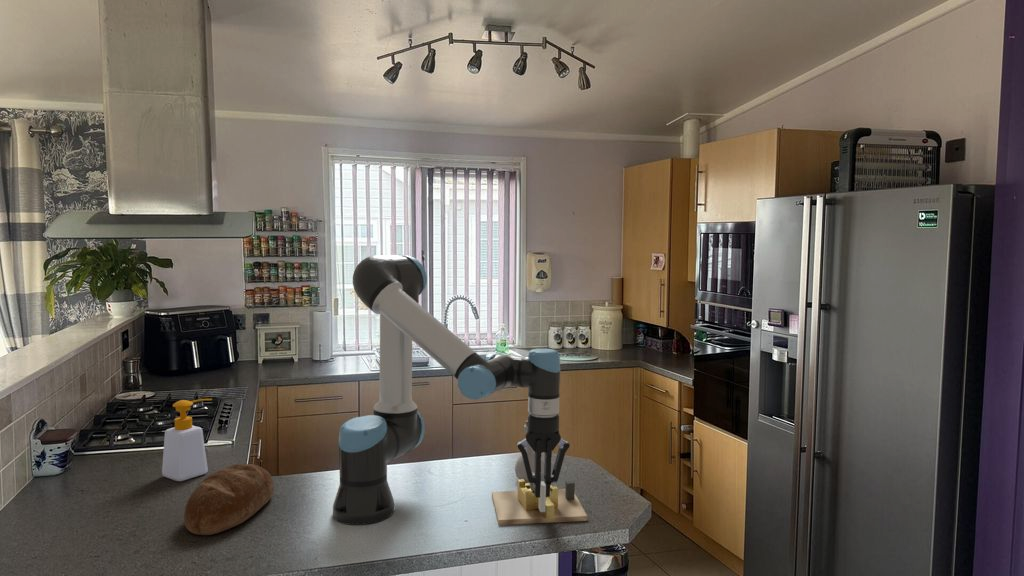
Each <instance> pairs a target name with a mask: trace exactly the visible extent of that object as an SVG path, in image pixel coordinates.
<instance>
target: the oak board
mask: <svg viewBox="0 0 1024 576" xmlns="http://www.w3.org/2000/svg"><path fill="white" fill-rule="evenodd" d="M517 494H518V490H505V491H501V490H500V491H491V499H492V503H493V508H494V512H495V516H496V520H497V525H498V526H503V525H506V526H507V525H525V524H526V525H527V524H543V523H544V524H546V523H563V522H566V523H567V522H584V521H585V522H586V521H588V514H587V513H586V511H585V509H584V507H583V506H582V503H581V502H580V500H579V499H578V497H577V495H576V493H575V494H574V500H567V499H566V497H565V488H558V507H554V519H550V520H546V519H545V517H544V516H543V514H542V513H541V512H540V510H539V509H534V510H526V509H525V508H524V507H523V505H522V504H521V502H520V501H519V499H518V498H517Z"/></svg>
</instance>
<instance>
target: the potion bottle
mask: <svg viewBox="0 0 1024 576" xmlns="http://www.w3.org/2000/svg"><path fill="white" fill-rule="evenodd" d="M523 429H524V430H523V431H524V433H525V435H526V434H527V432H528V419H526V420H525V424H524V425H523ZM526 452H527V455H528V459H529V463H530V468H531V472H533V471H534V462H535V454H534V450H533V449H532V448H531V446H530V445H529V444H528V443H527V449H526ZM515 462H516V463H515V467H514V471H515V477H516V478H518V479H517V481H518V480H519V479H524V480H525V483H530V482H529V481H528V478H527V475H526V471H525V466H524V462H523V458H522V454H520V455H519V456H518V457H517V459H516V461H515ZM544 462H545V460H544V459H543V458H542V457H541V471H542V472H544Z"/></svg>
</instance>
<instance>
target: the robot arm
mask: <svg viewBox="0 0 1024 576" xmlns="http://www.w3.org/2000/svg"><path fill="white" fill-rule="evenodd" d="M427 277H428V276H427V272H426V268H425V267H424V265H423V264H422V263H421V262H420V261H419V260H418V259H417V258H416V257H413V256H411V255H407V254H386V255H385V254H383V255H380V254H379V255H378V254H377V255H371V256H368V257H365V258H364V259H362V260H360V261H359V263H357V265H356V266H355V268H354V270H353V274H352V287H353V290H354V292H355V294H356V295H357V297H358V299H359V300H360V301H361V302H362V304H364V305H365V307H367V308H368V309H369V310H370V311H371V312H372V313H373V314H375V315H379V385H378V387H379V396H378V397H379V398H378V399H379V400H378V401H377V402H376V403H375V404H374V405H373V413H372V414H367V415H362V416H356V417H353V418H350V419H348V420H346V421H345V422H344V423H343V424H342V425H341V426H340V429H339V433H338V434H339V437H338V440H337V441H338V444H337V445H338V452H339V453H338V456H339V457H338V459H339V460H338V461H339V463H338V464H339V485H338V489H337V492H336V495H335V498H334V501H333V504H332V517H333V519H335V520H336V521H337V522H339V523H342V524H346V525H358V526H359V525H369V524H374V523H378V522H380V521H384V520H386V519H388V518H389V517H391V516H392V515H393V514H394V512H395V499H394V497H393V493H392V491H391V488H390V485H389V482H388V463H389V462H391V461H393V460H395V459H397V458H400V457H402V456H403V455H407V454H409V453H410V452H412V451H414V449H416V448H417V447H418V446H419V445H420V444H421V442H422V441H423V439H424V436H425V431H426V429H425V428H426V427H425V422H424V418H423V417H421V413H420V412H419V411H418V405H417V404H416V403H415V401H414V400H413V396H412V394H413V391H412V389H413V382H412V381H413V343H415V344H416V345H417V346H418V347H419V348H421V349H422V350H423V351H424V352H425V353H426V354H427V355H429V356H430V357H431V358H432V359H433V360H434V361H435V362H437V363H438V364H439V365H440V366H441V367H442V368H444V369H445V370H446V371H447V372H448V373H450V374H451V376H452V377H454V378H456V380H457V387H458V389H459V392H460V393H461V394H462V395H463V396H464V397H465V398H467V399H468V400H473V401H475V400H480V399H485V398H487V397H489V396H491V395H492V394H494V393H496V392H499V391H501V390H503V389H506V388H508V387H514V388H515V387H518V388H527V391H528V397H527V398H528V401H527V412H528V413H529V414H528V415H527V420H528V432H527V434H526V433H525V438H524V439H522V440H521V441H519V440H518V441H516V446H517V448H518V450H519V451H520V453H521V454H522V458H523V462H524V466H525V471H526V475H527V478H528V481H529V482H530V483H534V484H535V490H534V493H535V496H536V498H537V497H539V506H538V508H539V510H540V512H545V506H546V497H549V496H550V485H552V483H557V482H558V481H559V478H560V474H561V470H562V465H563V463H564V459H565V455H566V452H567V451H568V450H569V448H570V447H571V446H570V443H569V441H568V440H567V439H566V440H564V439H563V438H562V436H561V434H560V416H559V413H560V396H561V395H560V389H561V388H560V384H561V382H560V381H561V371H562V369H561V357H560V353H559V352H558V351H557V350H556V349H551V348H533V349H531V350H529V352H528V356H524V355H523V356H522V355H513V354H503V353H488V354H486V355H485V356H484V358H483V357H482V356H481V355H479V353H477V352H476V351H475V350H474V349H472V348H471V347H470V346H469V345H467V343H465V342H464V341H463V339H460V337H458V336H457V334H455V333H453V331H451V330H450V329H449V328H447V327H446V326H445V325H444V324H443V323H442V322H441V321H440V320H438V319H437V318H436V317H434V315H433V314H431V313H430V312H429V311H428V310H426V309H425V308H424V307H422V305H420V304H419V302H420V301H419V296H420V295H421V294H422V293H423V292H424V291H425V289H426V287H427V283H428V278H427ZM527 443H528V444H529V445H530V446H531V448H532V449H533V450H534V454H535V462H534V476H532V472H531V468H530V463H529V459H528V455H527V452H526V449H527ZM557 445H558V451H557V454H556V457H555V462H554V465H553V468H552V456H553V451H554V450H555V448H556V447H557ZM542 453H544V481H542V482H541V458H542ZM521 454H520V455H521Z"/></svg>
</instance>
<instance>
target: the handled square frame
mask: <svg viewBox="0 0 1024 576" xmlns="http://www.w3.org/2000/svg"><path fill="white" fill-rule="evenodd" d="M558 489H559V488H558V487H557V485H555V486H553V485H552V484H551V485H550V496H549V497H546V506H545V512H541V513H542V514H543V516H544V517H545V519H546V520H550V519H554V507H558ZM517 491H518V494H517V498H518V499H519V501H520V502H521V504H522V505H523V507H524V508H525V509H526V510H534V509H539V508H538V506H539V497H537V498H536V496H535V493H532V490H531V489H530V483H525V480H524V479H519V480H518V479H517Z"/></svg>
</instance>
